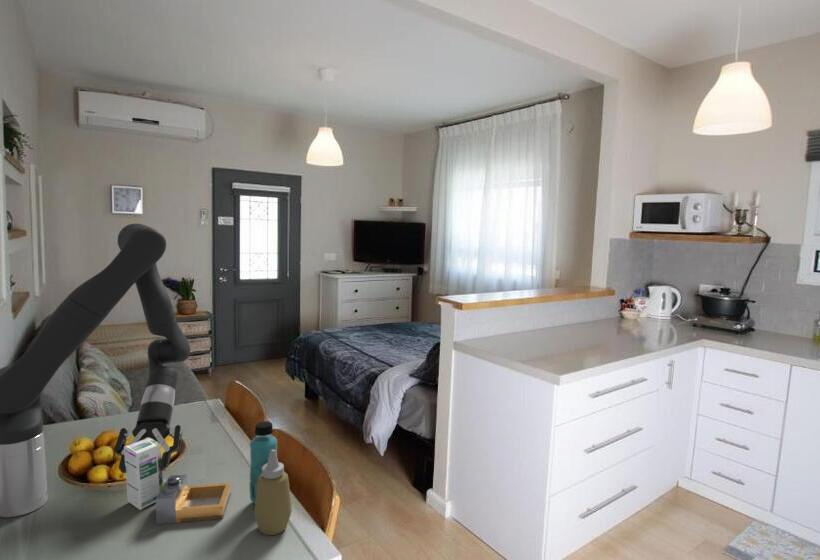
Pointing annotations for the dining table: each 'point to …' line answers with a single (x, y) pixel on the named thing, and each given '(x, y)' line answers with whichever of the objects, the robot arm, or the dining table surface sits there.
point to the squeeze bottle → (272, 497)
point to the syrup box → (143, 472)
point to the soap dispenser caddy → (191, 501)
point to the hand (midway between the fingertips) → (143, 471)
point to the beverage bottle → (260, 453)
